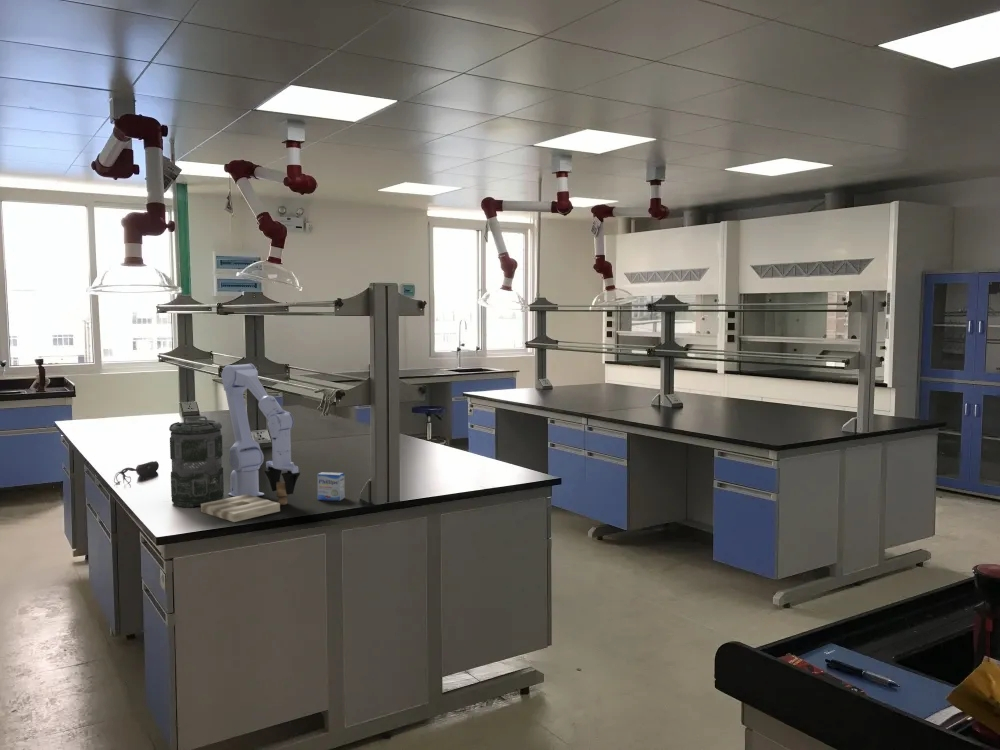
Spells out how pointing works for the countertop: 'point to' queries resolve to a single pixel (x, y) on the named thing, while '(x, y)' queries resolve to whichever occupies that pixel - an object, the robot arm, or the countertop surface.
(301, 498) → the countertop surface
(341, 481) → the medicine box
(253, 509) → the board
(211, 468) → the canister
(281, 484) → the peg
